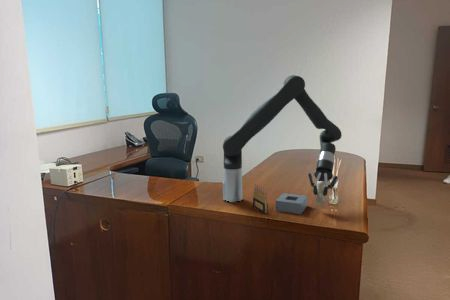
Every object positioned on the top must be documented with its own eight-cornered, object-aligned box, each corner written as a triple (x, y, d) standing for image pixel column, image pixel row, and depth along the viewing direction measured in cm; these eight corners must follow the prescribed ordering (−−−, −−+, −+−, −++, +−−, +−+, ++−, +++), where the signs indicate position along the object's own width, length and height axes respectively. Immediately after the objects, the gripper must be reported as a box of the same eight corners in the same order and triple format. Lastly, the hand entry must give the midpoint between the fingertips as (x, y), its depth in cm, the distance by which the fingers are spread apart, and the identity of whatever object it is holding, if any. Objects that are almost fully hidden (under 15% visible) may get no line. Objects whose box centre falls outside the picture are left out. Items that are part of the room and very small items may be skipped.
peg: (315, 203, 156) (316, 182, 154) (317, 201, 159) (317, 180, 158) (323, 204, 155) (324, 183, 153) (324, 202, 158) (325, 181, 156)
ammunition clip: (268, 213, 158) (267, 188, 156) (264, 214, 157) (264, 189, 155) (256, 206, 167) (255, 182, 165) (252, 207, 167) (252, 183, 164)
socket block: (275, 210, 161) (275, 200, 160) (283, 202, 172) (283, 193, 171) (301, 214, 156) (301, 203, 155) (307, 205, 166) (307, 195, 165)
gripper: (309, 157, 163) (302, 189, 155) (340, 159, 157) (335, 193, 149) (311, 165, 169) (305, 196, 160) (341, 168, 163) (336, 200, 154)
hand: (319, 194), depth 154 cm, fingers closed on peg, 3 cm apart
